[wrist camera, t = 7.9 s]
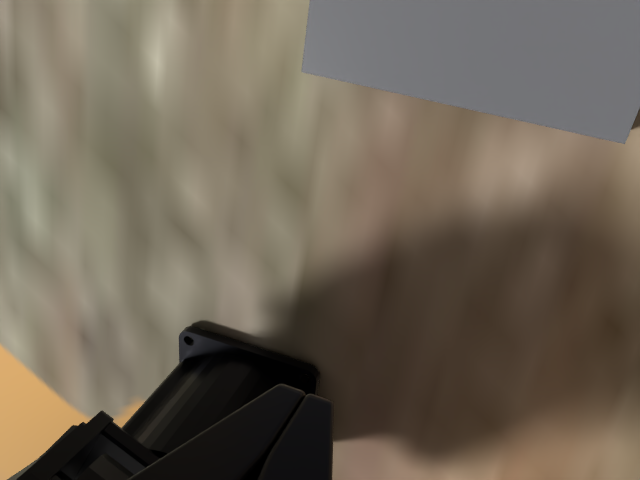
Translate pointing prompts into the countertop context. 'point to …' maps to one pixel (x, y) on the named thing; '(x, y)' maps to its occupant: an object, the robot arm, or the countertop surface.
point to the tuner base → (490, 56)
